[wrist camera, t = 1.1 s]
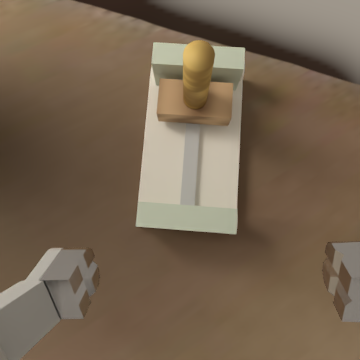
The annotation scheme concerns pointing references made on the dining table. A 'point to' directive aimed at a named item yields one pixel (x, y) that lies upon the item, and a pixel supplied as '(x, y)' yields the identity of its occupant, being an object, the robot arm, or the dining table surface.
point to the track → (191, 153)
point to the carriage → (195, 91)
